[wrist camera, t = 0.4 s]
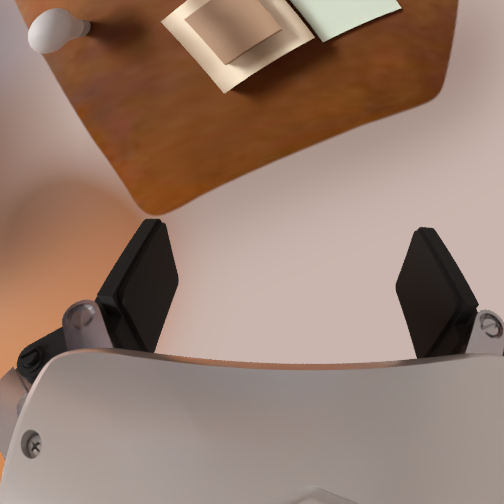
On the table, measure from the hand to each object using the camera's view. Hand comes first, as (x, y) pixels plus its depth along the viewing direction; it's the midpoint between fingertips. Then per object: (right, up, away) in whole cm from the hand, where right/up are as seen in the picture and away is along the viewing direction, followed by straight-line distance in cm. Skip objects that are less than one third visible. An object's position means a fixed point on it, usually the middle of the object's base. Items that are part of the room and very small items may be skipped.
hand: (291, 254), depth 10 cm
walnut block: (-3, +23, +12) cm, 26 cm away
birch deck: (-3, +27, +16) cm, 31 cm away
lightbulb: (-24, +31, +15) cm, 42 cm away
